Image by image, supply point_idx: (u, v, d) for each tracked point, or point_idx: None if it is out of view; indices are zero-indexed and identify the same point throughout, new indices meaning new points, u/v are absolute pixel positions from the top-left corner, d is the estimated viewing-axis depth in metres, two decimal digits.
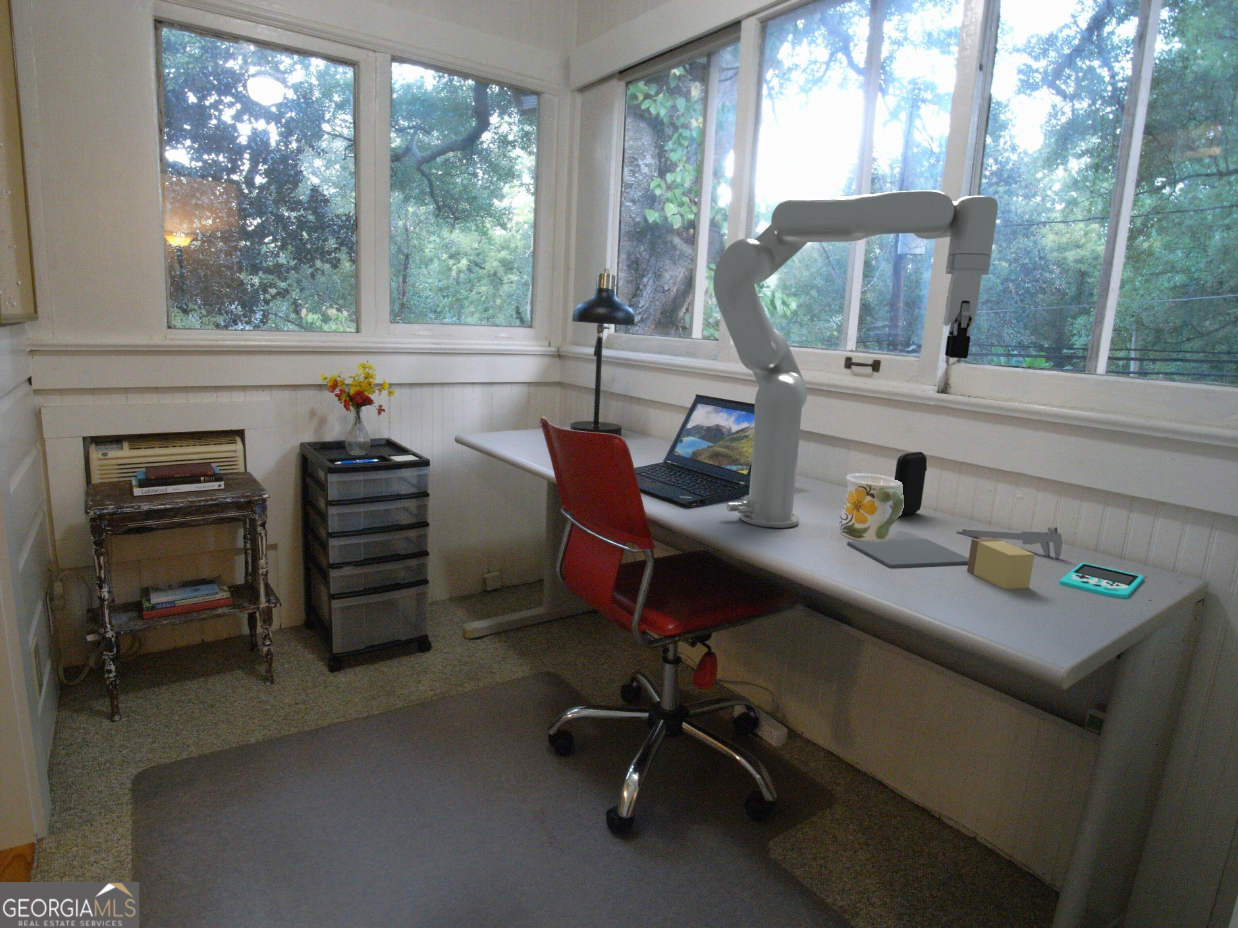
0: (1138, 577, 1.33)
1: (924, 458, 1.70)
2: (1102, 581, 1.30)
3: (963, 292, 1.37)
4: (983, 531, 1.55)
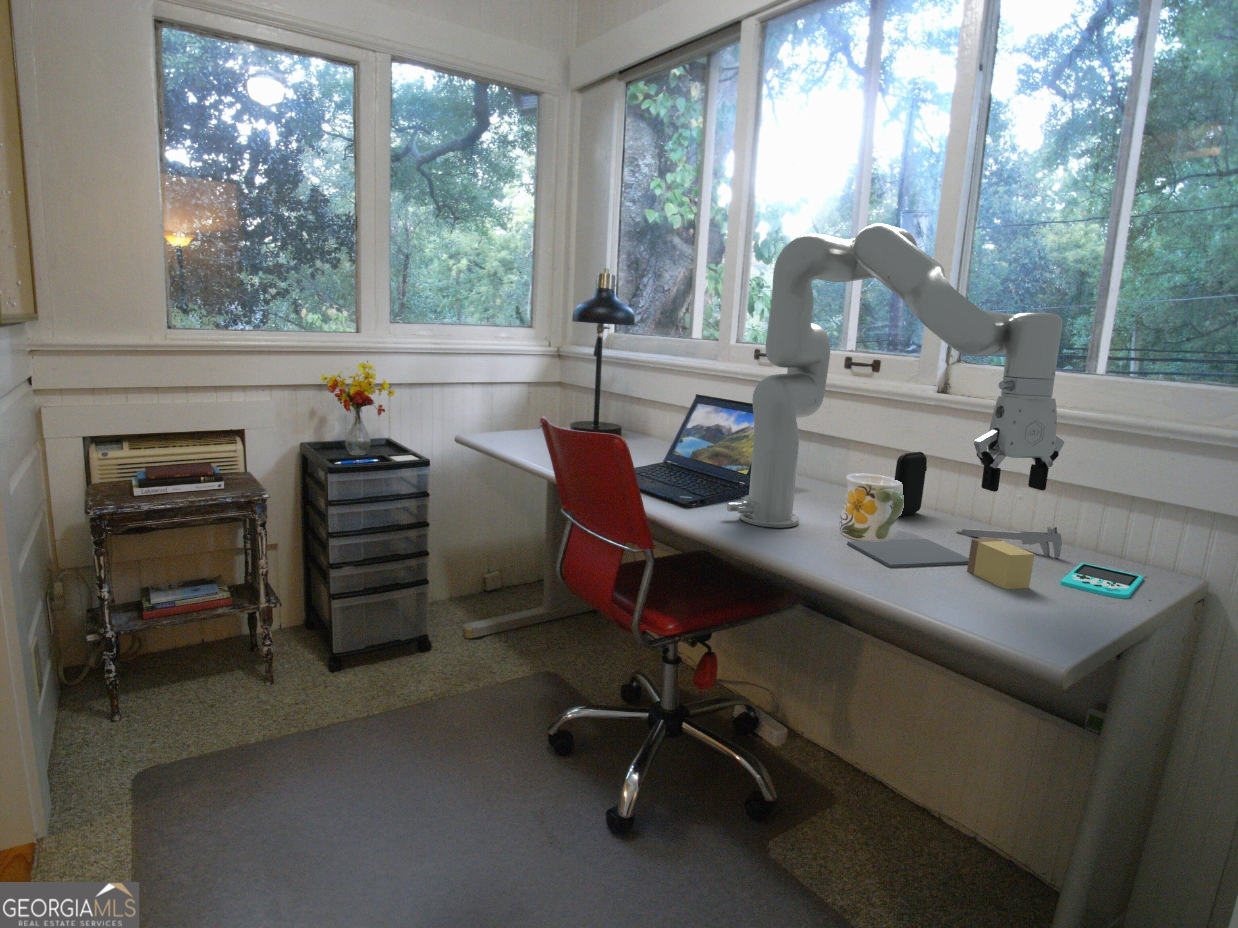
0: (1138, 577, 1.33)
1: (924, 458, 1.70)
2: (1103, 581, 1.30)
3: None
4: (983, 531, 1.55)
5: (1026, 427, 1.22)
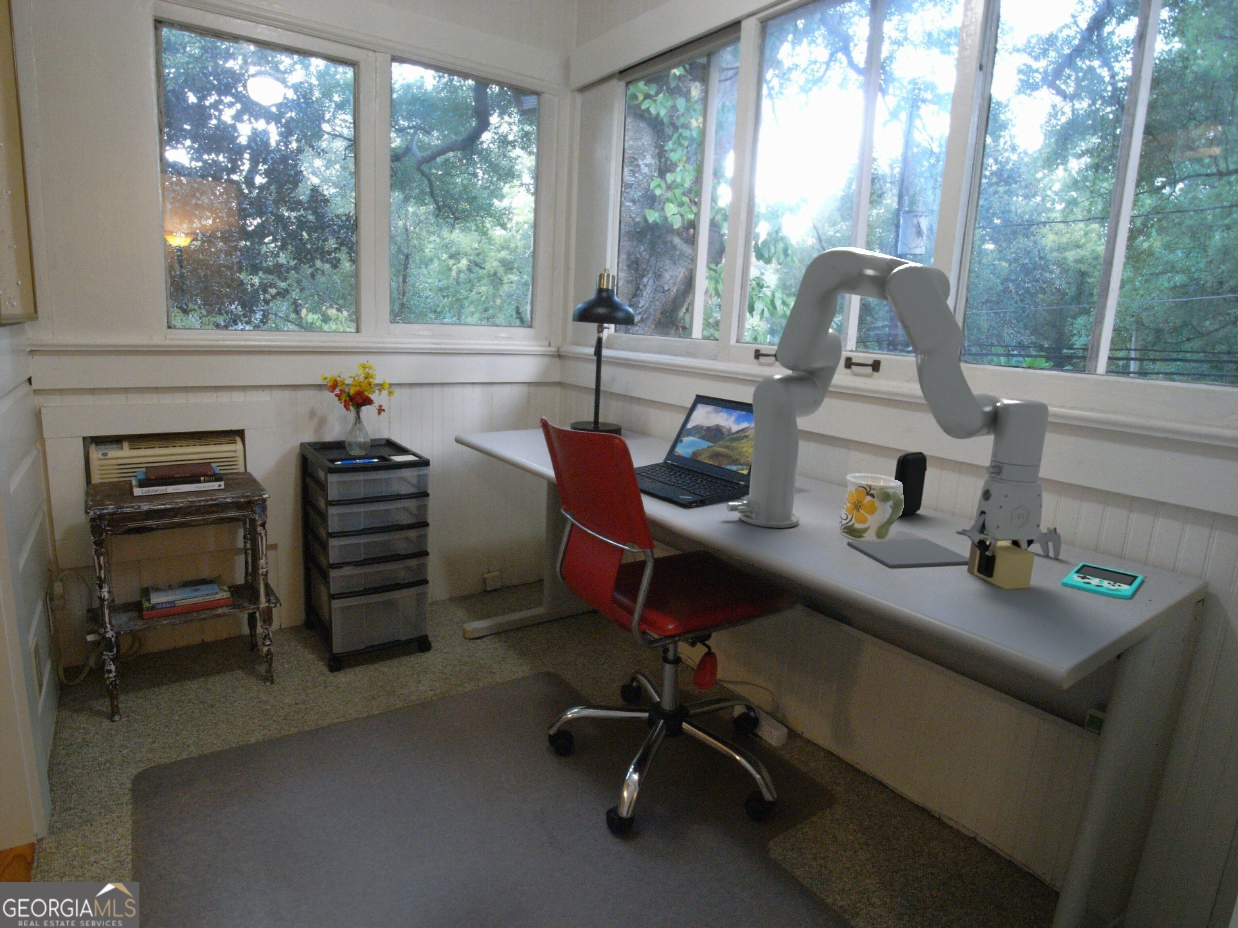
0: (1138, 577, 1.33)
1: (924, 458, 1.70)
2: (1103, 581, 1.29)
3: None
4: None
5: (1012, 511, 1.24)
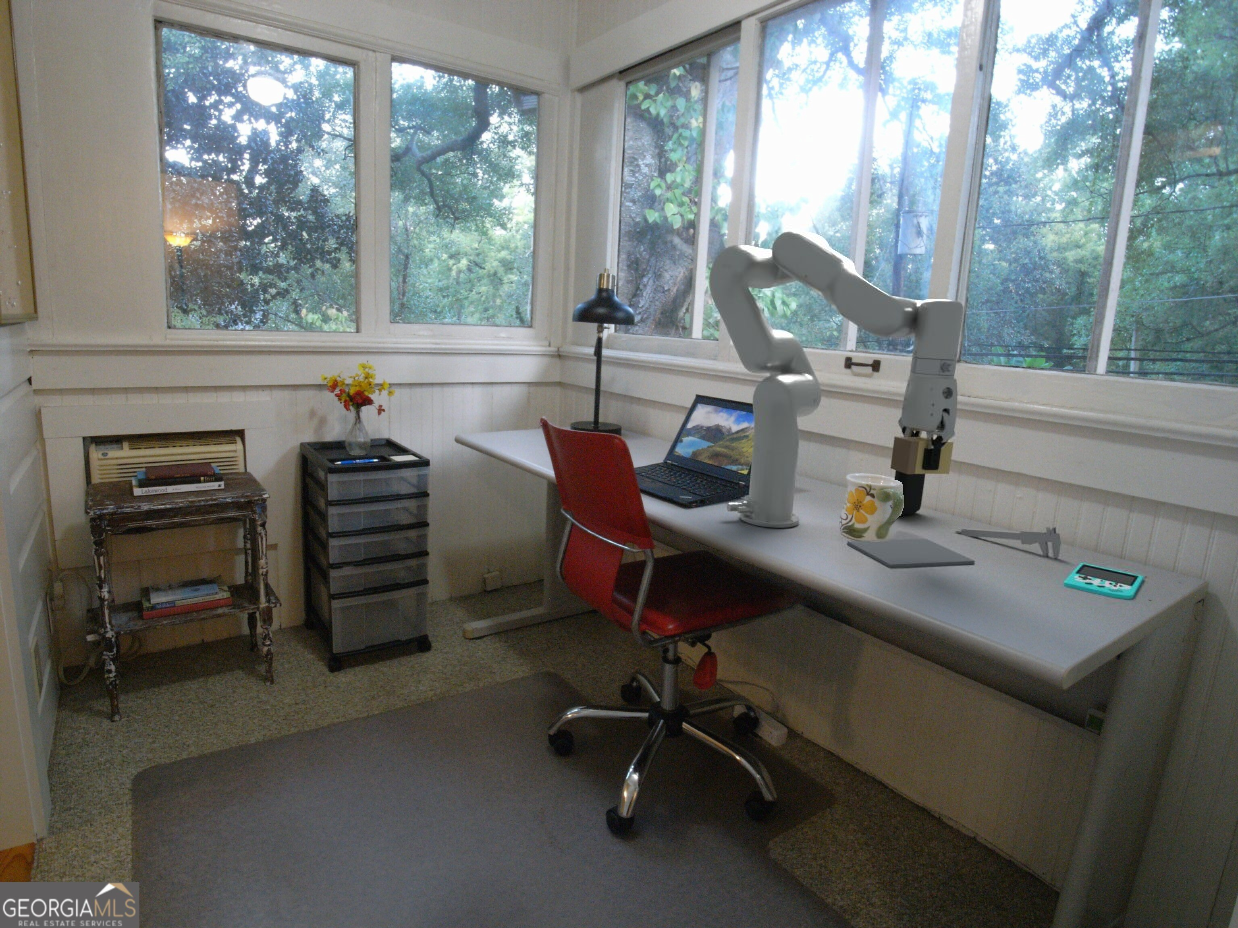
0: (1138, 577, 1.33)
1: None
2: (1105, 582, 1.29)
3: None
4: (982, 531, 1.55)
5: None
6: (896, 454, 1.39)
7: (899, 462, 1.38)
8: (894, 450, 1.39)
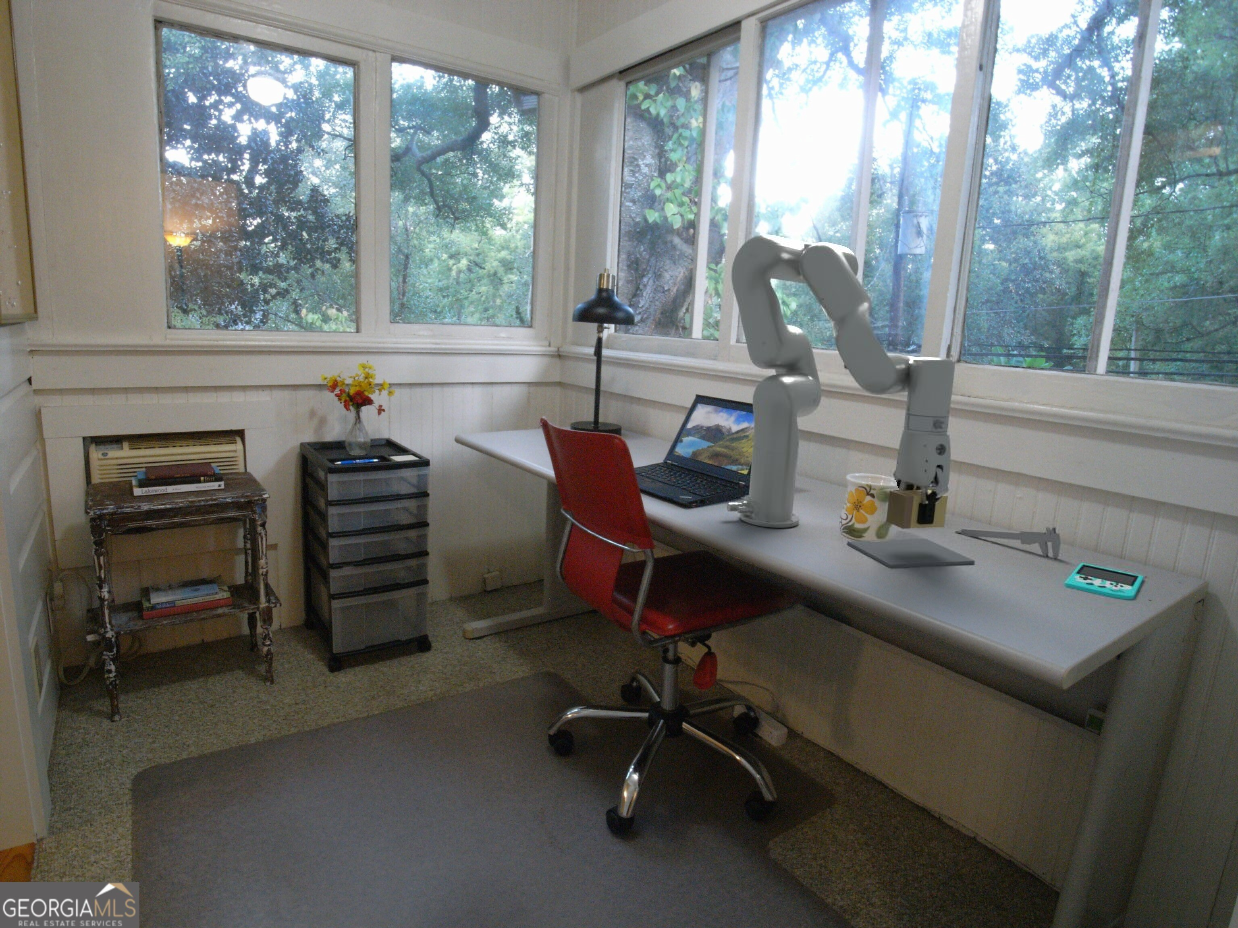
0: (1138, 577, 1.33)
1: None
2: (1105, 582, 1.29)
3: None
4: (982, 531, 1.55)
5: None
6: (891, 508, 1.40)
7: (895, 516, 1.40)
8: (889, 504, 1.41)
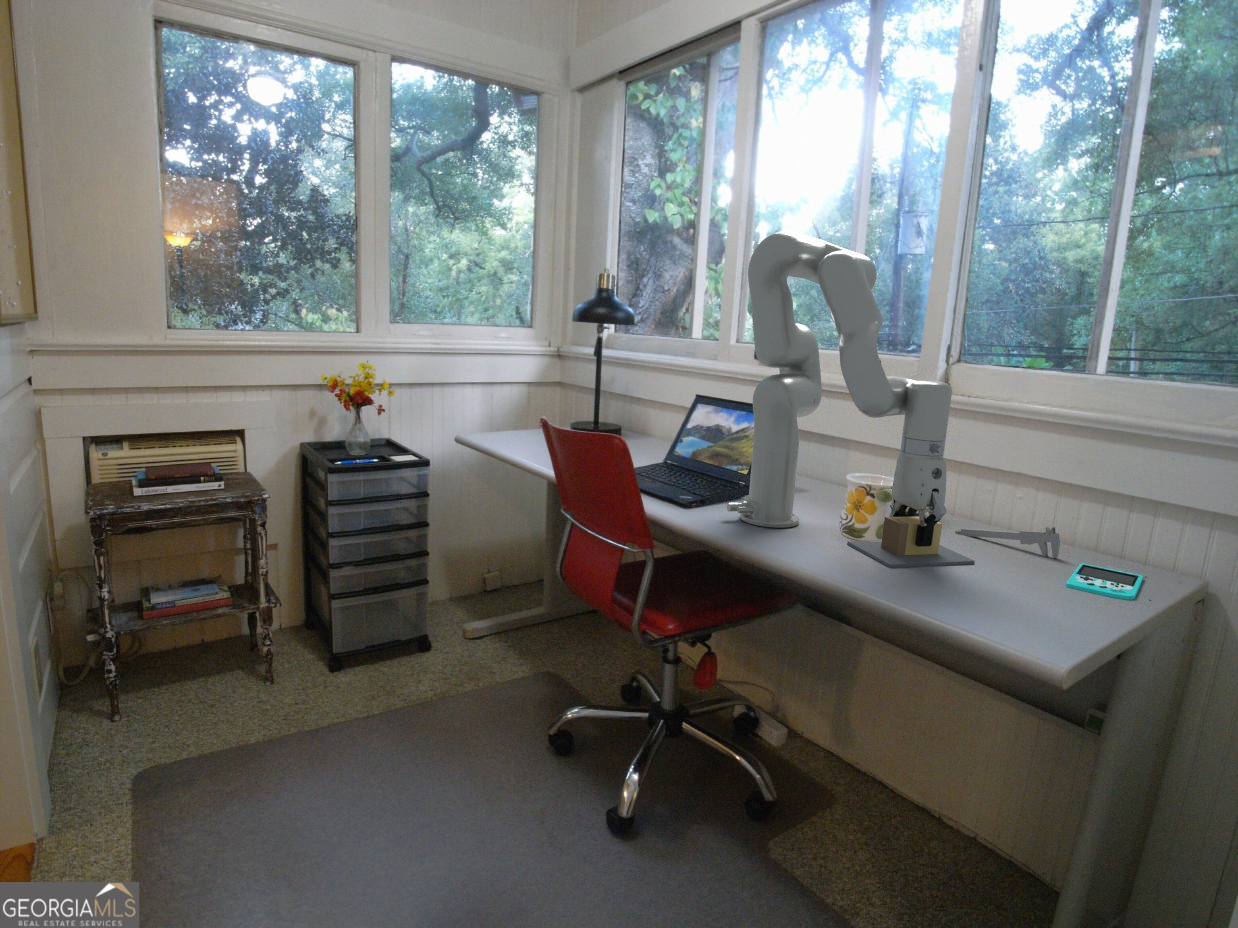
0: (1138, 577, 1.33)
1: None
2: (1106, 582, 1.29)
3: None
4: (981, 531, 1.55)
5: None
6: (886, 534, 1.42)
7: (889, 543, 1.41)
8: (884, 530, 1.42)
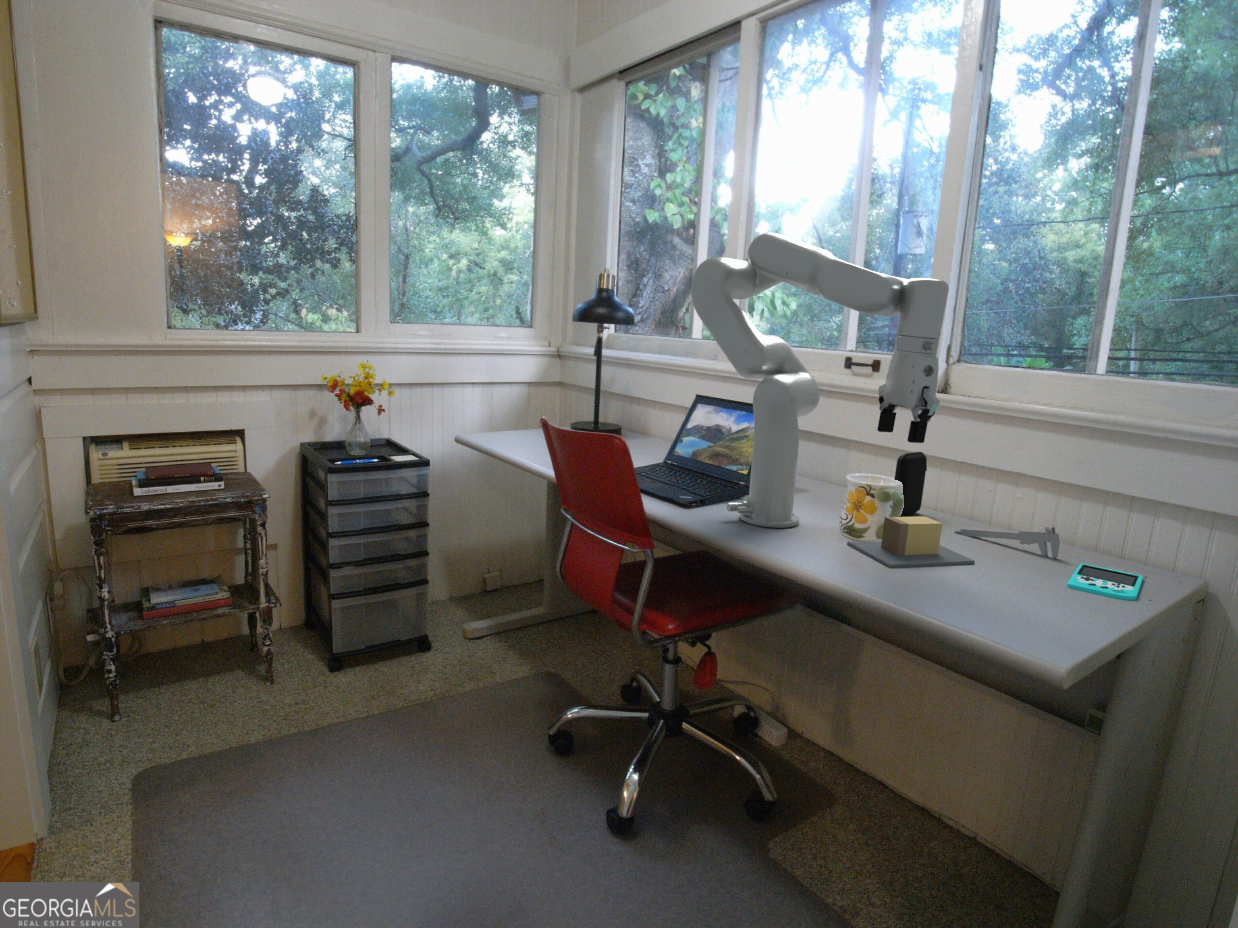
0: (1139, 577, 1.33)
1: (924, 458, 1.70)
2: (1107, 583, 1.29)
3: None
4: (981, 531, 1.55)
5: None
6: (886, 534, 1.42)
7: (889, 543, 1.41)
8: (884, 530, 1.42)
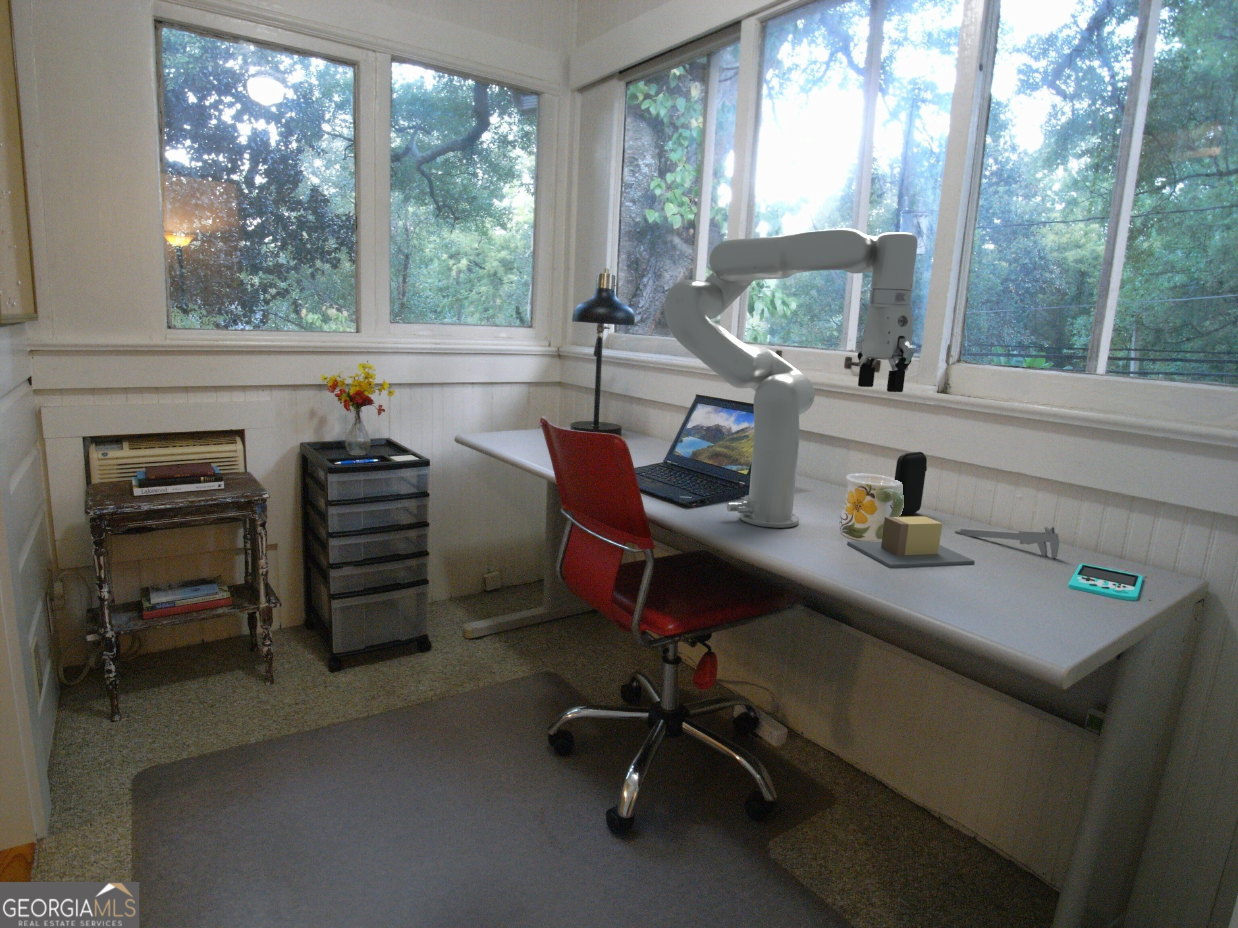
0: (1139, 577, 1.33)
1: (924, 458, 1.70)
2: (1108, 583, 1.29)
3: None
4: (981, 531, 1.55)
5: None
6: (886, 534, 1.42)
7: (889, 543, 1.41)
8: (884, 530, 1.42)
